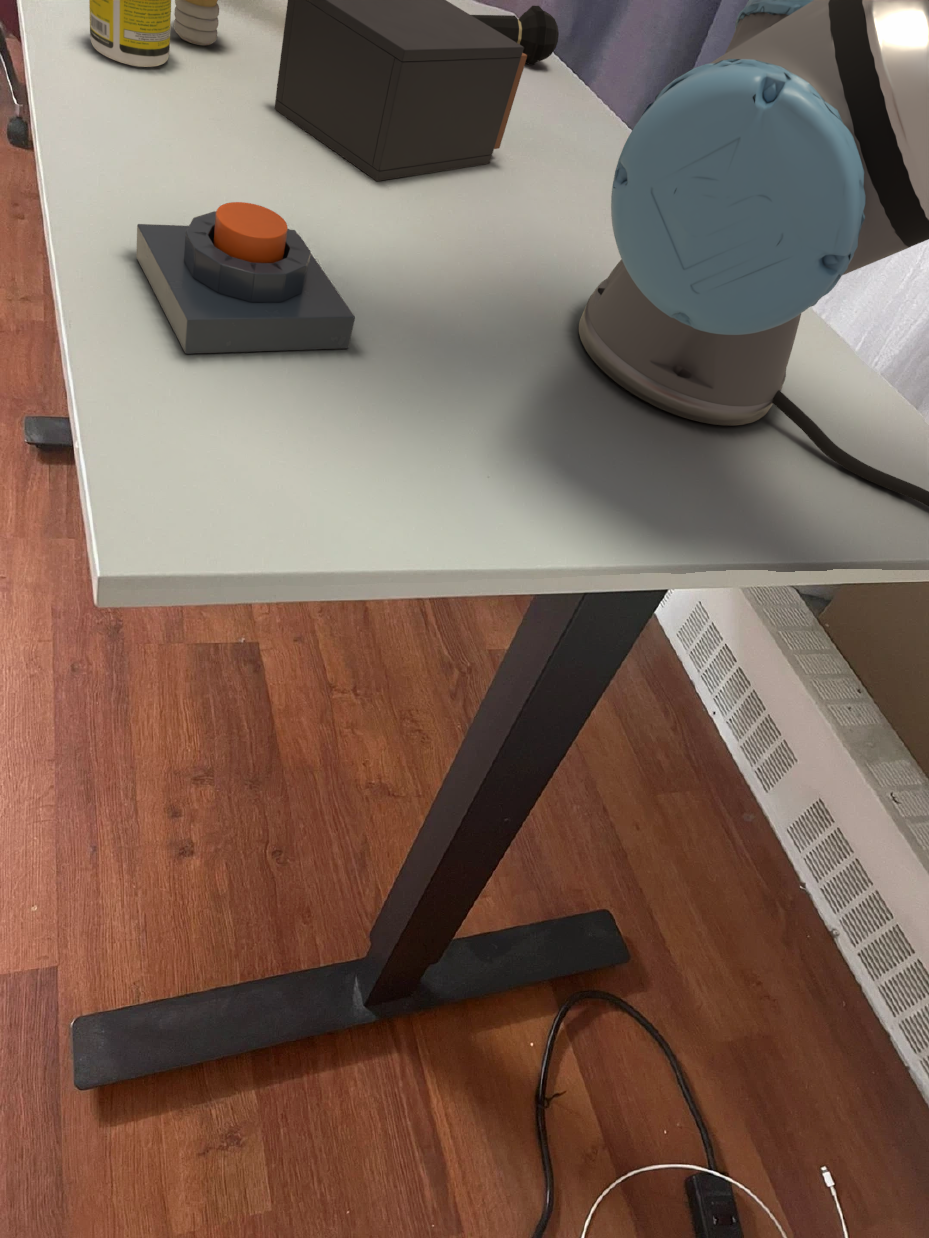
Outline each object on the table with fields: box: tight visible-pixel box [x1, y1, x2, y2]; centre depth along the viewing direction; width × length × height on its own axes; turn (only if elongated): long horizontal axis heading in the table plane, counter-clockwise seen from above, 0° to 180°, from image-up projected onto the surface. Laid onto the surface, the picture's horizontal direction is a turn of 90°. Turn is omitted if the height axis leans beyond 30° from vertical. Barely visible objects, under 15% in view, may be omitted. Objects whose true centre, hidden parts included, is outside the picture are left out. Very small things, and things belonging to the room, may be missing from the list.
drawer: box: [494, 53, 527, 150], centre depth 77 cm, size 15×11×8 cm
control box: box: [135, 210, 356, 355], centre depth 54 cm, size 10×10×4 cm
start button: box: [214, 201, 289, 263], centre depth 52 cm, size 4×4×2 cm
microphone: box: [470, 5, 560, 66], centre depth 102 cm, size 6×6×20 cm
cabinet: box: [274, 0, 524, 182], centre depth 75 cm, size 15×13×10 cm
